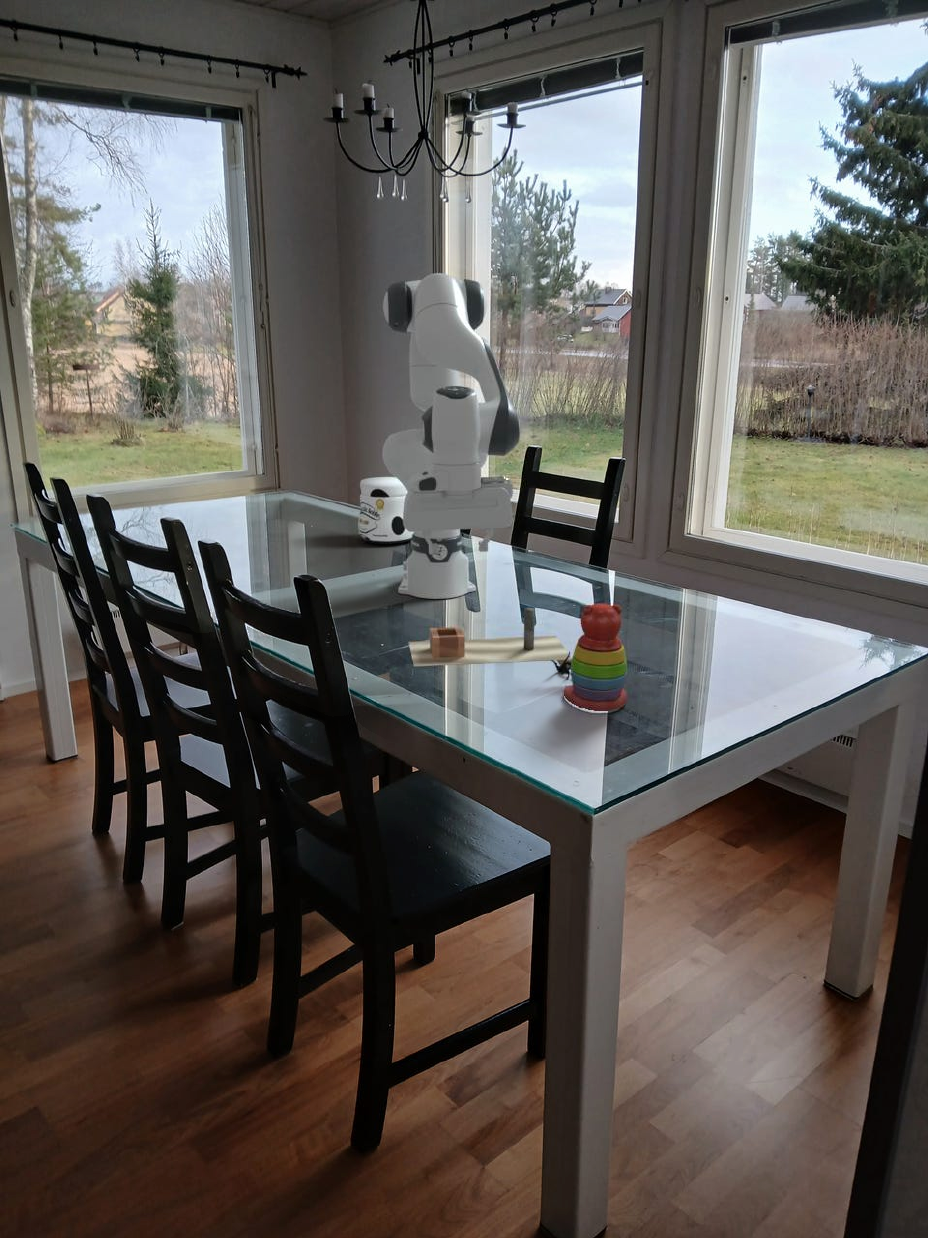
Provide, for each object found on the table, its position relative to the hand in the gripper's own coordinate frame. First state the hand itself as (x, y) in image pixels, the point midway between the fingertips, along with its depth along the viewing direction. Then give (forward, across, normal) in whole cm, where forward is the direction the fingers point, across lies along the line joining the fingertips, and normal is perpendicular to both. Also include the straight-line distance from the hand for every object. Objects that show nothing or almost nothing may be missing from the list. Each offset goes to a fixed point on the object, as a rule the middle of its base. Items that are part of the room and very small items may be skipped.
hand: (458, 552), depth 176 cm
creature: (+22, -18, +15) cm, 33 cm away
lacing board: (+21, -6, -1) cm, 22 cm away
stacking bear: (+22, -20, +25) cm, 39 cm away
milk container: (+19, +5, -106) cm, 108 cm away
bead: (+20, +2, -1) cm, 20 cm away
